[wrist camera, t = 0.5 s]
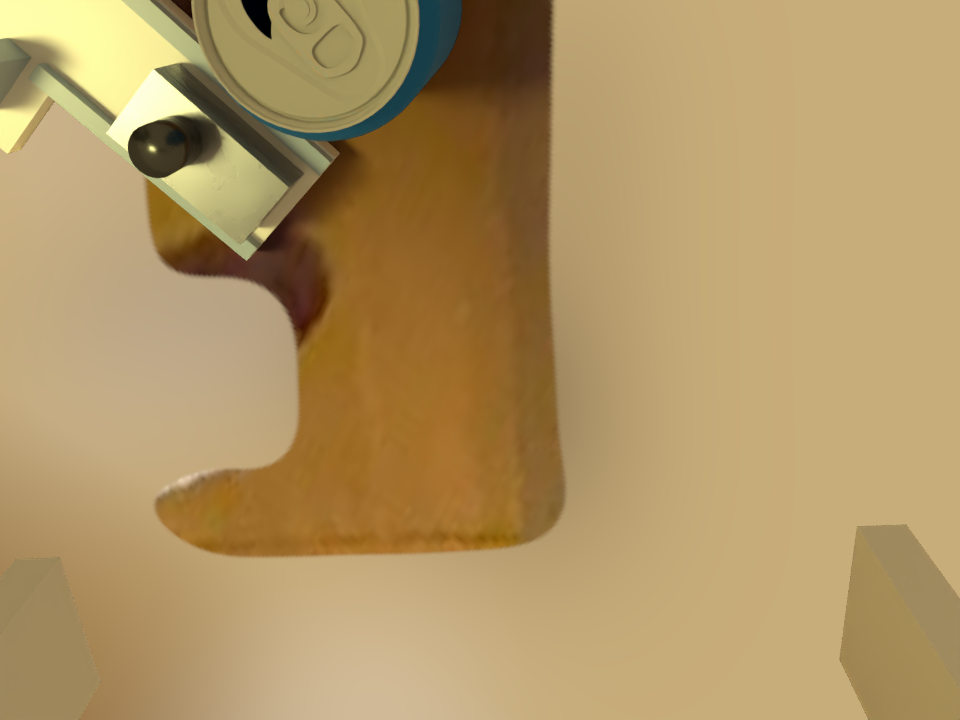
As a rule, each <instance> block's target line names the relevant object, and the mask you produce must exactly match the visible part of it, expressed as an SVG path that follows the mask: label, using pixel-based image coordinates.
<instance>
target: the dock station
mask: <svg viewBox="0 0 960 720" xmlns="http://www.w3.org/2000/svg"><path fill="white" fill-rule="evenodd" d="M176 63H180V64H181V65H182V66H183V67H184V68H185V69H187V70H188V71H189V72H190V73H191V74H192V75H193V76H195V77H196V78H197V79H198V80H199V81H200V82H201V83H202V84H204V85H205V86H206V87H207V88H208V89H209V90H210V91H211V92H213V93H214V94H215V95H216V96H217V97H218V98H219V99H221V100H222V101H223V102H224V103H225V104H226V105H227V106H228V107H230V108H231V109H232V110H233V111H234V112H235V113H236V114H238V115H239V116H240V117H241V118H242V119H243V120H244V121H245V122H247V123H248V124H249V125H250V126H251V127H252V128H253V129H255V130H256V131H257V132H258V133H259V134H260V135H261V136H262V137H264V138H265V139H266V140H267V141H268V142H269V143H270V144H271V145H273V146H274V147H275V148H276V149H277V150H278V151H279V152H281V153H282V154H283V155H284V156H285V157H286V158H287V159H288V160H290V161H291V162H292V163H293V164H294V165H295V166H296V167H298V168H299V169H300V170H301V171H302V172H303V173H304V175H303V176H302V177H301V178H300V179H299V181H298V182H297V183H296V184H295V185H294V186H293V188H292V189H291V190H290V191H289V192H288V193H287V195H286V196H285V197H284V198H283V199H282V201H281V202H280V203H279V204H278V205H277V206H276V208H275V209H274V210H273V211H272V212H271V213H270V215H269V216H268V217H267V218H266V219H265V221H264V222H263V223H262V224H261V225H260V226H259V228H258V229H257V230H256V231H255V232H253V233H252V234H251V235H250V236H249V237H248V238H247V239H246V240H245V241H244V242H243V243H242V244H241V245H239V244H238V243H237V242H236V241H234V240H233V239H232V238H231V237H230V236H228V235H227V234H226V233H225V232H224V231H222V230H221V229H220V228H219V227H218V226H216V225H215V224H214V223H213V222H212V221H211V220H209V219H208V218H207V217H206V216H205V215H203V214H202V213H201V212H200V211H199V210H197V209H196V208H195V207H194V206H193V205H191V204H190V203H189V202H188V201H187V200H185V199H184V198H183V197H182V196H181V195H179V194H178V193H177V192H176V191H175V190H173V189H172V188H171V187H170V186H169V185H167V184H166V183H165V182H164V181H163V180H161V179H160V178H152V177H149V176H147V175H145V174H143V173H142V172H140V171H139V170H138V169H137V168H136V167H135V166H134V164H133V163H132V161H131V159H130V157H129V153H128V151H127V150H126V149H124V148H123V147H122V146H121V145H120V144H118V143H117V142H116V141H115V140H114V139H112V138H111V137H110V136H109V135H108V134H106V133H107V131H108V130H109V129H110V127H111V126H112V124H113V123H114V122H115V120H116V119H117V118H118V116H119V115H120V114H121V112H122V111H123V109H124V108H125V107H126V105H127V104H128V103H129V101H130V100H131V99H132V97H133V96H134V94H135V93H136V92H137V90H138V89H139V88H140V86H141V85H142V84H143V82H144V81H145V79H146V78H147V77H148V75H149V74H150V73H151V71H152V70H153V69H155V68H159V67H163V66H167V65H171V64H176ZM54 101H55V102H56V103H58V104H59V105H60V106H61V107H62V108H64V109H65V110H66V111H67V112H69V113H70V114H71V115H72V116H73V117H74V118H76V119H77V120H78V121H79V122H80V123H82V124H83V125H84V126H85V127H86V128H88V129H89V130H90V131H91V132H92V133H94V134H95V135H96V136H97V137H98V138H100V139H101V140H102V141H103V142H104V143H106V144H107V145H108V146H109V147H110V148H112V149H113V150H114V151H115V152H116V153H118V154H119V155H120V156H121V157H122V158H124V159H125V160H126V161H127V162H128V163H130V164H131V165H132V166H133V167H135V168H136V169H137V170H138V171H139V172H140V173H142V174H143V175H144V176H145V177H146V178H148V179H149V180H150V181H151V182H152V183H154V184H155V185H156V186H157V187H158V188H160V189H161V190H162V191H163V192H164V193H166V194H167V195H168V196H169V197H170V198H172V199H173V200H174V201H175V202H176V203H178V204H179V205H180V206H181V207H182V208H184V209H185V210H186V211H187V212H188V213H190V214H191V215H192V216H193V217H194V218H196V219H197V220H198V221H199V222H201V223H202V224H203V225H204V226H205V227H207V228H208V229H209V230H210V231H211V232H213V233H214V234H215V235H216V236H217V237H219V238H220V239H221V240H222V241H223V242H225V243H226V244H227V245H228V246H229V247H231V248H232V249H233V250H234V251H235V252H237V253H238V254H239V255H240V256H241V257H243V258H244V259H245V260H246V261H247V260H248V259H249V258H250V257H251V256H252V255H253V254H254V253H255V252H256V251H257V249H258V248H259V247H260V246H261V245H262V244H263V242H264V241H265V240H266V239H267V238H268V237H269V235H270V234H271V233H272V232H273V231H274V230H275V228H276V227H277V226H278V225H279V224H280V223H281V221H282V220H283V219H284V218H285V217H286V216H287V214H288V213H289V212H290V211H291V210H292V209H293V207H294V206H295V205H296V204H297V203H298V202H299V200H300V199H301V198H302V197H303V196H304V195H305V193H306V192H307V191H308V190H309V189H310V188H311V187H312V185H313V184H314V183H315V182H316V181H317V180H318V178H319V177H320V176H321V175H322V174H323V173H324V171H325V170H326V169H327V168H328V167H329V166H330V164H331V163H332V162H333V161H334V160H335V159H336V157H337V156H338V155H339V154H340V152H338V151H337V150H336V149H335V148H334V147H333V146H332V145H331V144H330V143H328V142H327V141H314V140H307V139H301V138H298V137H294V136H291V135H287V134H284V133H282V132H280V131H277V130H275V129H273V128H270V127H269V126H267V125H265V124H264V123H262V122H260V121H258V120H257V119H255V118H254V117H253V116H251V115H250V114H249V113H247V112H246V111H245V110H244V109H243V108H241V107H240V106H239V105H238V104H237V103H236V102H235V101H234V100H233V99H232V98H231V97H230V95H229V94H228V93H227V92H226V91H225V89H224V88H223V87H222V86H221V84H220V83H219V81H218V80H217V78H216V77H215V75H214V74H213V72H212V71H211V69H210V67H209V65H208V63H207V61H206V59H205V57H204V55H203V53H202V50H201V47H200V44H199V42H198V39H197V35H196V31H195V27H194V23H193V20H192V19H191V18H190V17H189V16H188V15H187V14H186V13H185V12H183V11H182V10H181V9H180V8H179V7H178V6H177V5H176V4H175V3H173V2H172V1H171V0H0V148H1V149H2V150H4V151H5V152H6V153H8V154H9V153H12V152H15V151H18V150H21V149H22V147H23V146H24V144H25V143H26V142H27V140H28V139H29V137H30V136H31V134H32V133H33V132H34V130H35V129H36V127H37V126H38V124H39V123H40V122H41V120H42V119H43V117H44V116H45V114H46V113H47V111H48V110H49V109H50V107H51V106H52V104H53V103H54Z"/></svg>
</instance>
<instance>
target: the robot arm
mask: <svg viewBox="0 0 960 720" xmlns="http://www.w3.org/2000/svg"><path fill="white" fill-rule="evenodd" d="M840 661H841V663H842V665H843V668H844V670H845V672H846V674H847V676H848V678H849V680H850V682H851V684H852V686H853V688H854V690H855V692H856V694H857V696H858V699H859V701H860V702H861V705H862V707H863V709H864V711H865V713H866V715H867V717H868V719H869V720H960V598H959V597H958V596H957V594H956V593H955V591H954V590H953V589H952V587H951V586H950V584H949V583H948V582H947V580H946V579H945V578H944V576H943V575H942V574H941V572H940V571H939V569H938V568H937V567H936V565H935V564H934V562H933V561H932V560H931V558H930V557H929V555H928V554H927V553H926V552H925V550H924V549H923V547H922V546H921V544H920V543H919V542H918V540H917V539H916V538H915V536H914V535H913V533H912V532H911V531H910V529H909V528H908V526H907V525H883V526H857V531H856V539H855V547H854V553H853V561H852V569H851V576H850V584H849V591H848V599H847V606H846V614H845V621H844V629H843V637H842V645H841V652H840ZM99 684H100V678H99V675H98V672H97V669H96V666H95V663H94V660H93V657H92V654H91V651H90V648H89V645H88V642H87V638H86V635H85V632H84V629H83V626H82V623H81V620H80V617H79V614H78V611H77V608H76V605H75V602H74V599H73V596H72V593H71V590H70V587H69V583H68V580H67V578H66V574H65V571H64V568H63V565H62V562H61V559H60V557H55V558H29V559H16V560H15V561H14V562H13V563H12V564H11V565H10V567H9V568H8V569H7V570H6V572H5V573H4V574H3V575H2V576H1V578H0V720H79V718H80V717H81V715H82V713H83V711H84V710H85V708H86V706H87V704H88V703H89V701H90V699H91V698H92V696H93V694H94V692H95V691H96V689H97V687H98V685H99Z"/></svg>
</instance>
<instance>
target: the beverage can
mask: <svg viewBox="0 0 960 720" xmlns="http://www.w3.org/2000/svg"><path fill="white" fill-rule="evenodd" d="M191 6H192V15H193V23H194V27H195V31H196V35H197V39H198V42H199V44H200V47H201V50H202V53H203V55H204V57H205V59H206V61H207V63H208V65H209V67H210V69H211V71H212V72H213V74H214V75H215V77H216V78H217V80H218V81H219V83H220V84H221V86H222V87H223V88H224V89H225V91H226V92H227V93H228V94H229V95H230V97H231V98H232V99H233V100H234V101H235V102H236V103H237V104H238V105H239V106H240V107H241V108H243V109H244V110H245V111H246V112H247V113H249V114H250V115H251V116H253V117H254V118H255V119H257V120H258V121H260V122H262V123H264V124H265V125H267V126H269V127H270V128H273V129H275V130H277V131H280V132H282V133H284V134H287V135H291V136H294V137H298V138H301V139H307V140H314V141H337V140H346V139H350V138H354V137H358V136H362V135H364V134H367V133H369V132H371V131H374V130H376V129H378V128H380V127H381V126H383V125H385V124H386V123H388V122H389V121H391V120H392V119H393V118H395V117H396V116H397V115H398V114H400V113H401V112H402V111H403V110H404V109H405V108H406V107H407V106H408V105H409V103H410V102H411V101H412V100H413V99H414V98H415V97H416V96H417V94H418V93H419V92H420V91H421V90H422V88H423V87H424V86H425V85H426V84H427V82H428V81H429V80H430V79H431V78H432V77H433V75H434V74H435V73H436V72H437V71H438V69H439V68H440V67H441V66H442V64H443V63H444V62H445V60H446V59H447V57H448V56H449V54H450V52H451V50H452V48H453V46H454V43H455V41H456V38H457V36H458V32H459V28H460V23H461V15H462V0H191Z"/></svg>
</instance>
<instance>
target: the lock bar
mask: <svg viewBox="0 0 960 720" xmlns="http://www.w3.org/2000/svg"><path fill="white" fill-rule="evenodd" d="M106 134H108V135H109V136H110V137H111V138H112V139H114V140H115V141H116V142H117V143H118V144H120V145H121V146H122V147H123V148H124V149H126V150H127V151H128V153H129V157H130V159H131V161H132V163H133V164H134V166H135V167H136V168H137V169H138V170H139V171H140V172H142V173H143V174H145V175H147V176H149V177H152V178H160V179H161V180H163V181H164V182H165V183H166V184H167V185H169V186H170V187H171V188H172V189H173V190H175V191H176V192H177V193H178V194H179V195H181V196H182V197H183V198H184V199H185V200H187V201H188V202H189V203H190V204H191V205H193V206H194V207H195V208H196V209H197V210H199V211H200V212H201V213H202V214H203V215H205V216H206V217H207V218H208V219H209V220H211V221H212V222H213V223H214V224H215V225H216V226H218V227H219V228H220V229H221V230H222V231H224V232H225V233H226V234H227V235H228V236H230V237H231V238H232V239H233V240H234V241H236V242H237V243H238V244H239V245H241V244H242V243H243V242H244V241H245V240H246V239H247V238H248V237H249V236H250V235H251V234H252V233H253V232H255V231H256V230H257V229H258V228H259V226H260V225H261V224H262V223H263V222H264V221H265V219H266V218H267V217H268V216H269V215H270V213H271V212H272V211H273V210H274V209H275V208H276V206H277V205H278V204H279V203H280V202H281V201H282V199H283V198H284V197H285V196H286V195H287V193H288V192H289V191H290V190H291V189H292V188H293V186H294V185H295V184H296V183H297V182H298V181H299V179H300V178H301V177H302V176H303V175H304V173H303V172H302V171H301V170H300V169H299V168H298V167H296V166H295V165H294V164H293V163H292V162H291V161H290V160H288V159H287V158H286V157H285V156H284V155H283V154H282V153H281V152H279V151H278V150H277V149H276V148H275V147H274V146H273V145H271V144H270V143H269V142H268V141H267V140H266V139H265V138H264V137H262V136H261V135H260V134H259V133H258V132H257V131H256V130H255V129H253V128H252V127H251V126H250V125H249V124H248V123H247V122H245V121H244V120H243V119H242V118H241V117H240V116H239V115H238V114H236V113H235V112H234V111H233V110H232V109H231V108H230V107H228V106H227V105H226V104H225V103H224V102H223V101H222V100H221V99H219V98H218V97H217V96H216V95H215V94H214V93H213V92H211V91H210V90H209V89H208V88H207V87H206V86H205V85H204V84H202V83H201V82H200V81H199V80H198V79H197V78H196V77H195V76H193V75H192V74H191V73H190V72H189V71H188V70H187V69H185V68H184V67H183V66H182V65H181V64H180V63H176V64H171V65H167V66H163V67H159V68H155V69H153V70H152V71H151V73H150V74H149V75H148V77H147V78H146V79H145V81H144V82H143V84H142V85H141V86H140V88H139V89H138V90H137V92H136V93H135V94H134V96H133V97H132V99H131V100H130V101H129V103H128V104H127V105H126V107H125V108H124V109H123V111H122V112H121V114H120V115H119V116H118V118H117V119H116V120H115V122H114V123H113V124H112V126H111V127H110V129H109V130H108V131H107V133H106Z"/></svg>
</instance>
